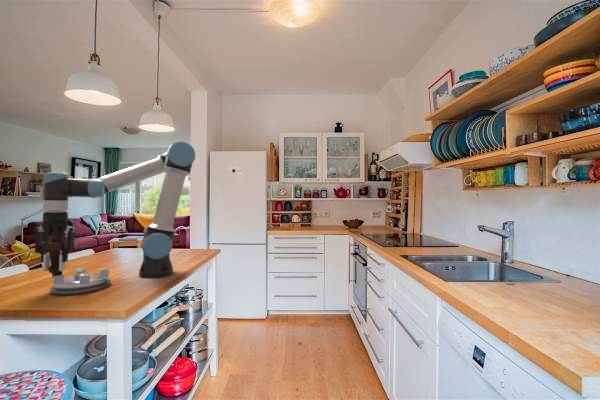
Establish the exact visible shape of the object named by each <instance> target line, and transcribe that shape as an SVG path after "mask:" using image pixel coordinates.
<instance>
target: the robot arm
mask: <svg viewBox="0 0 600 400" xmlns="http://www.w3.org/2000/svg"><path fill="white" fill-rule="evenodd" d="M195 160H196V151H195V149H194V147H193V146H192V144H190V143H188V142H185V141H174V142H173V143H171V144H170V145H169V147H168V148H167V151H165V152H163V153H162V154H159V155H158V156H157V157H156V158H154V159H151V160H148V161H145V162H142V163H139V164H135V165H133V166H130V167H127V168H124V169H121V170H119V171H118V170H117V171H115V172H113V173H110V174H107V175H104V176H101V177H98V178H74V177H73V178H71V177H70V176H69V173H67V172H56V171H47V172H45V173H44V176H43V177H44V178H43V183H42V185H43V202H42V211H44V212H43V213H42V222H43V223H42V224H41V226H38V227H34V228H33V233H34V253H36V254H40V262H41V263H42V265H43V266H42V272H47V271H48V272H49V267H50V266H51V262H50V255H49V252H45V250H44V249H45V246H46V245H48V244H50V243H52V240H53V237H54V236H56V238H57V239H58V243H59V244H60V245H62V250H61V251H60V254H59V271H62V270H63V271H65V270H66V262H68V261H69V253H71V252H74V250H75V232H76V230H77V227H75V226H70V225H69V223H68V219H69V212H68V210H69V197H71V198H75V197H77V198H92V199H96V198H103V197H104V195H106V194H109V193H111V192H115V191H116V190H119V189H121V188H125V187H127V186H130V185H132V184H135V183H138V182H141V181H144V180H147V179H150V178H152V177H154V176H158V175H161V174H164V173H165V175H164V178H163V181H162V184H161V185H162V186H161V190H160V193H159V197H158V200H157V203H156V204H157V205H156V208H155V212H154V216H153V218H152V219H153V220H152V222H151V223H150V224H148V225H147V227H146V228H144V229H143V233H142V235H143V238H142V239H143V240H142V245H141V249H142V253H143V254H142V255H143V259H142V262H141V264H140V268H139V271H138V277H140V278H144V279H153V278H154V279H155V278H163V277H167V276H170V275H172V274H173V273H174V267H173V264H172V261H171V258H170V252H172V249H173V240H174V237H175V232H176V229H175V228H174V224H175V223H174V222H175V218H176V215H177V210H178V207H179V203H180V199H181V196H182V191H183V188H184V183H185V180H186V177H187V176H189V175H190V174H191V171H192V166H193V164H194V161H195ZM66 231H67V238H66V233H65V232H66ZM43 232H45V234H44V233H43ZM63 271H62V272H63Z"/></svg>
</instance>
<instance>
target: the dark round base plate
mask: <svg viewBox="0 0 600 400" xmlns="http://www.w3.org/2000/svg"><path fill="white" fill-rule="evenodd" d="M111 285H112V280H111V279H109V278H108V282H107V283H105V284H103V285H100V286H96V287H92V288H87V289H80V290H69V291H61V290H55V289H54V288H53V286H52V287H50V288H49V294H50V295H51V296H57V297H69V296H70V297H71V296H78V295H79V296H80V295H86V294H90V293H96V292H99V291H102V290H105V289H107V288H109V287H111Z"/></svg>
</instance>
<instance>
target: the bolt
mask: <svg viewBox="0 0 600 400" xmlns="http://www.w3.org/2000/svg"><path fill="white" fill-rule="evenodd" d="M44 250H45V252H49V255H50V267H49V270H48V273H50V274H51V276H52V277H51V278H52V279H53V275H56V274H63V272H64V270H62V271H59V254H61V250H62V245H60V244H59V242H51V243H50V244H48V245H46V246H45V249H44Z"/></svg>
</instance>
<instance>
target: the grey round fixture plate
mask: <svg viewBox="0 0 600 400" xmlns="http://www.w3.org/2000/svg"><path fill="white" fill-rule="evenodd" d="M64 275H65V274H64V273H62V274H56V275H53V278H52V279H53V280H52V281H53V282H52V283H53V286H52V287H53V288H54V289H55V290H61V291H69V290H80V289H87V288H92V287H96V286H100V285H103V284H105V283H107V282H108V279H109V275H110V269H109V268H108V267H103V268H102V267H101V268H99V269H98V272H97V273H90V272H86V268H85V267H79V268H78V267H77V268H75V270H74V275H71V276H67V277H65V276H64Z"/></svg>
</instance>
